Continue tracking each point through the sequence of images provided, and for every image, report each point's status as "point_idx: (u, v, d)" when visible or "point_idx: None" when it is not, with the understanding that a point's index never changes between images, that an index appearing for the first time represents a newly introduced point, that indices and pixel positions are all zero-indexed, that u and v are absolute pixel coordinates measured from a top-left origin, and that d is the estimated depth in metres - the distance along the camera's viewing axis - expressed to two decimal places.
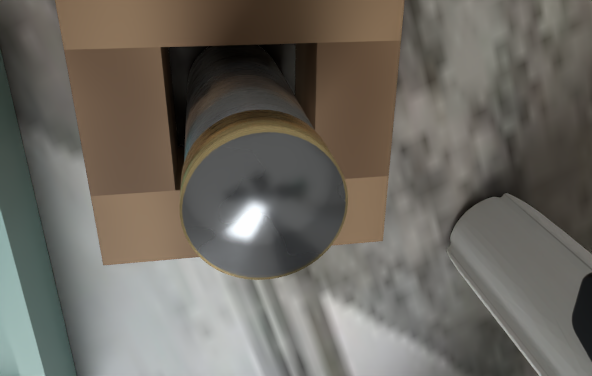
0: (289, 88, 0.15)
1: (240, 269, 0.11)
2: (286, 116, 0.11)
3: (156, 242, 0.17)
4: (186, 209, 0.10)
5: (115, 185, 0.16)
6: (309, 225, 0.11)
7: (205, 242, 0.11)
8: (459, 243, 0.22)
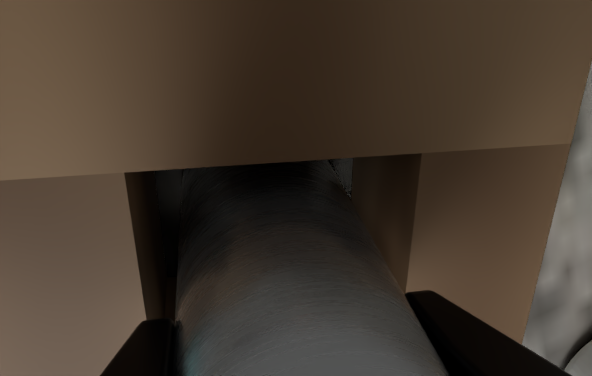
0: (371, 241, 0.08)
1: None
2: None
3: None
4: None
5: None
6: None
7: None
8: None
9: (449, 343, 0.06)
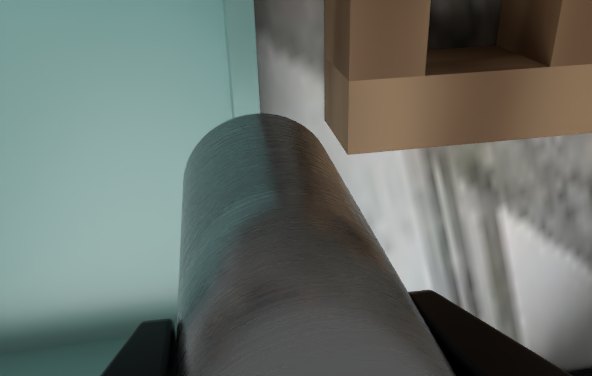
0: (374, 237, 0.08)
1: None
2: None
3: (399, 130, 0.17)
4: None
5: (372, 70, 0.16)
6: None
7: None
8: None
9: (449, 343, 0.06)
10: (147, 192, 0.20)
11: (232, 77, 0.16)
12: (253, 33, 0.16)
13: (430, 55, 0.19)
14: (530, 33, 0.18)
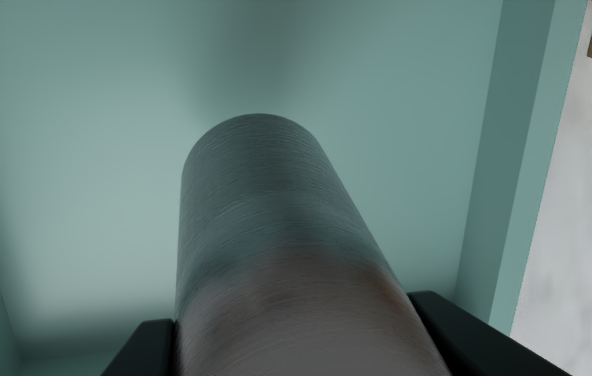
0: (372, 237, 0.08)
1: None
2: None
3: None
4: None
5: None
6: None
7: None
8: None
9: (449, 343, 0.06)
10: (372, 140, 0.15)
11: None
12: None
13: None
14: None
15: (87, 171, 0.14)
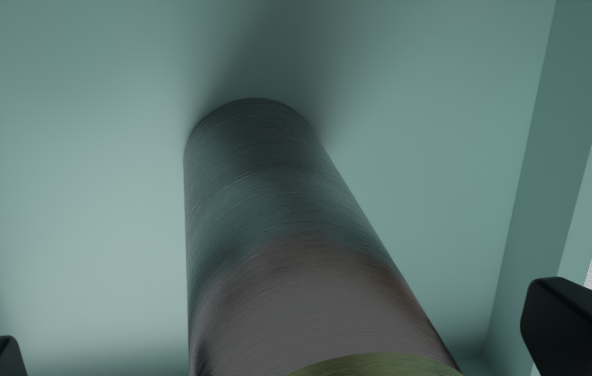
0: (359, 206, 0.09)
1: None
2: (419, 371, 0.05)
3: None
4: None
5: None
6: None
7: None
8: None
9: None
10: (400, 173, 0.13)
11: None
12: None
13: None
14: None
15: (74, 210, 0.12)
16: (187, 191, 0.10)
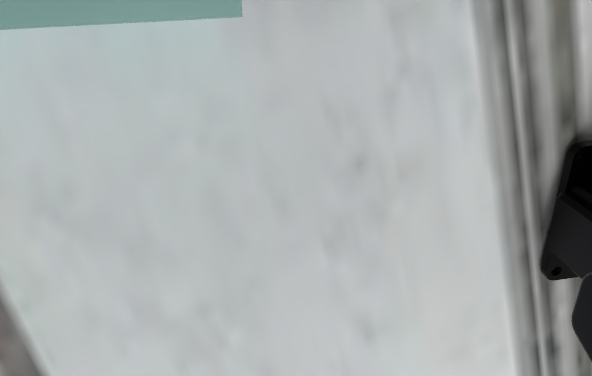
0: None
1: None
2: None
3: None
4: None
5: None
6: None
7: None
8: None
9: None
10: None
11: None
12: None
13: None
14: None
15: None
16: None
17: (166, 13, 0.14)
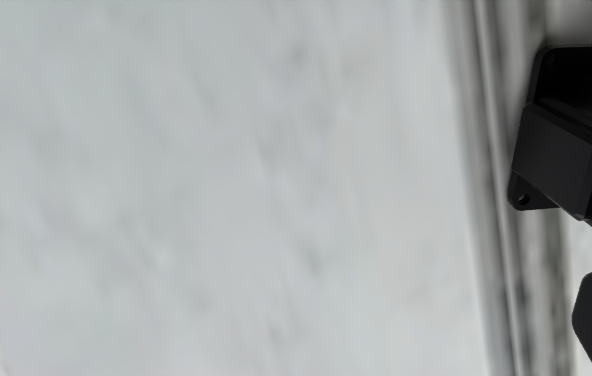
0: None
1: None
2: None
3: None
4: None
5: None
6: None
7: None
8: None
9: None
10: None
11: None
12: None
13: None
14: None
15: None
16: None
17: None
